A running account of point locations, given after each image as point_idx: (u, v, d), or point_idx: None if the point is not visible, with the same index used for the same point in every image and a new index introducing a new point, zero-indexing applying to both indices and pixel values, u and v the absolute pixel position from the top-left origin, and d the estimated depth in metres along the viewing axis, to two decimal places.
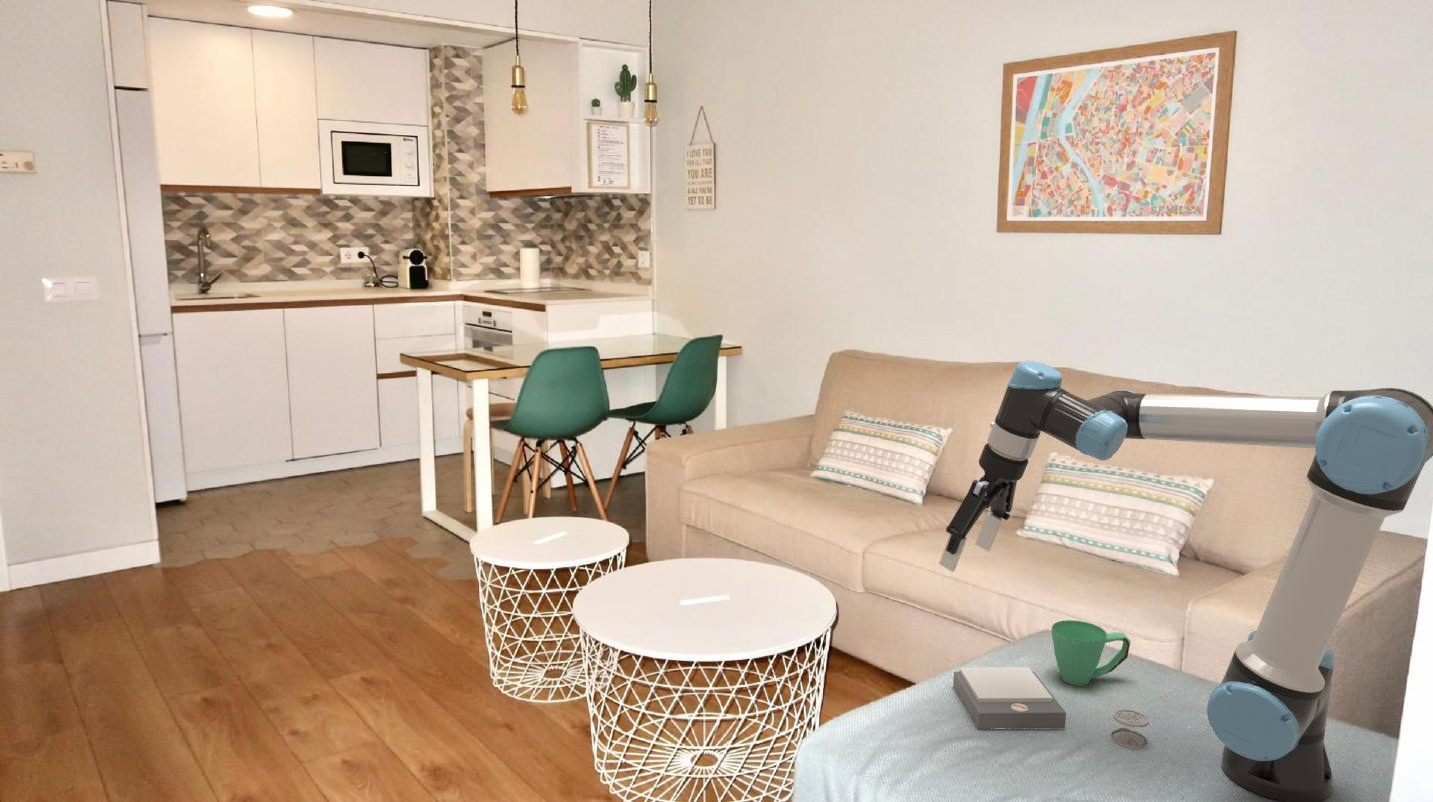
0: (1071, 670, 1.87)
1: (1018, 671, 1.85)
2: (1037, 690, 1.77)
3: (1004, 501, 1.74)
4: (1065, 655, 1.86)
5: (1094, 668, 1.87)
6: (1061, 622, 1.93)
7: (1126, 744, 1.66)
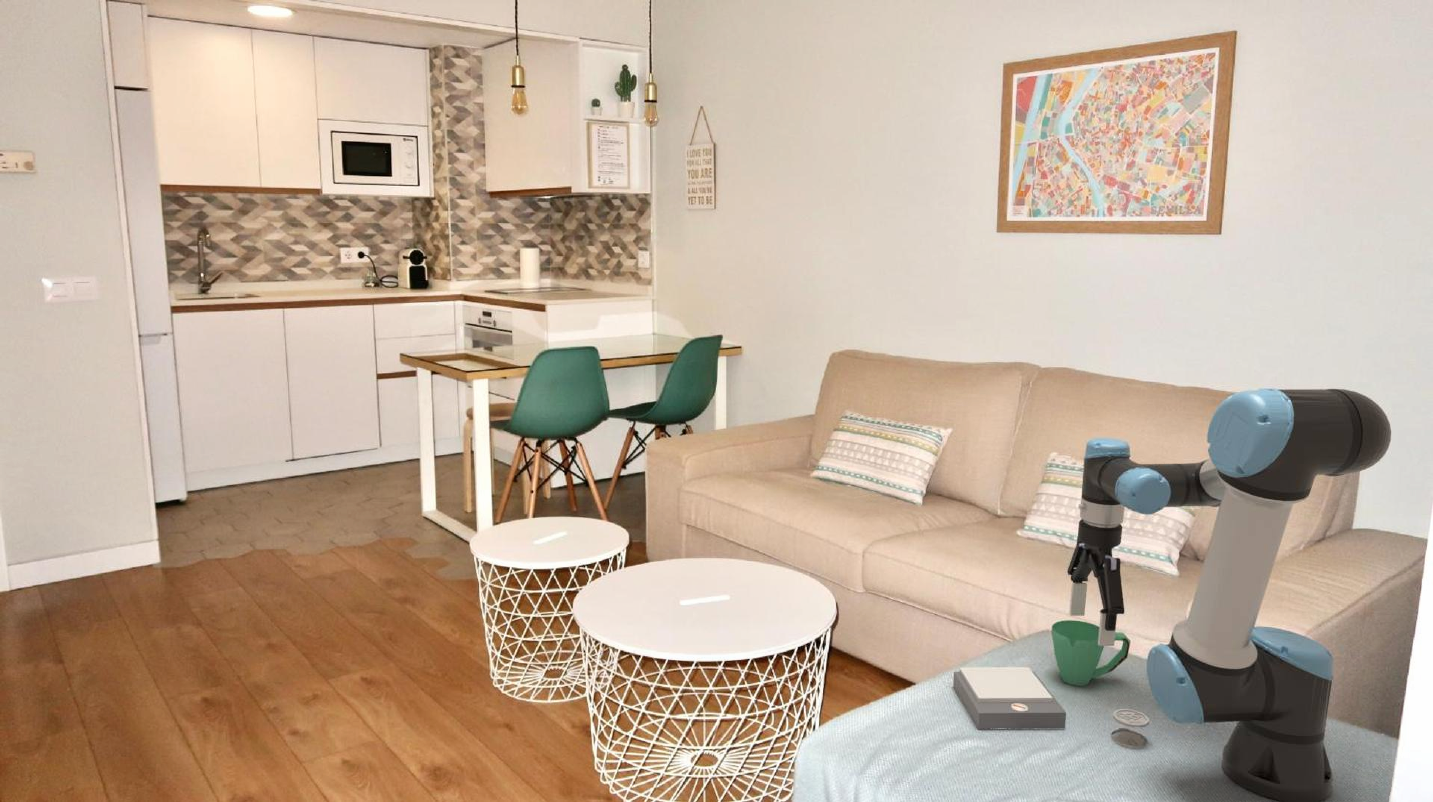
0: (1071, 670, 1.87)
1: (1018, 671, 1.85)
2: (1037, 690, 1.77)
3: None
4: (1065, 655, 1.86)
5: (1094, 668, 1.87)
6: (1061, 622, 1.93)
7: (1126, 744, 1.66)
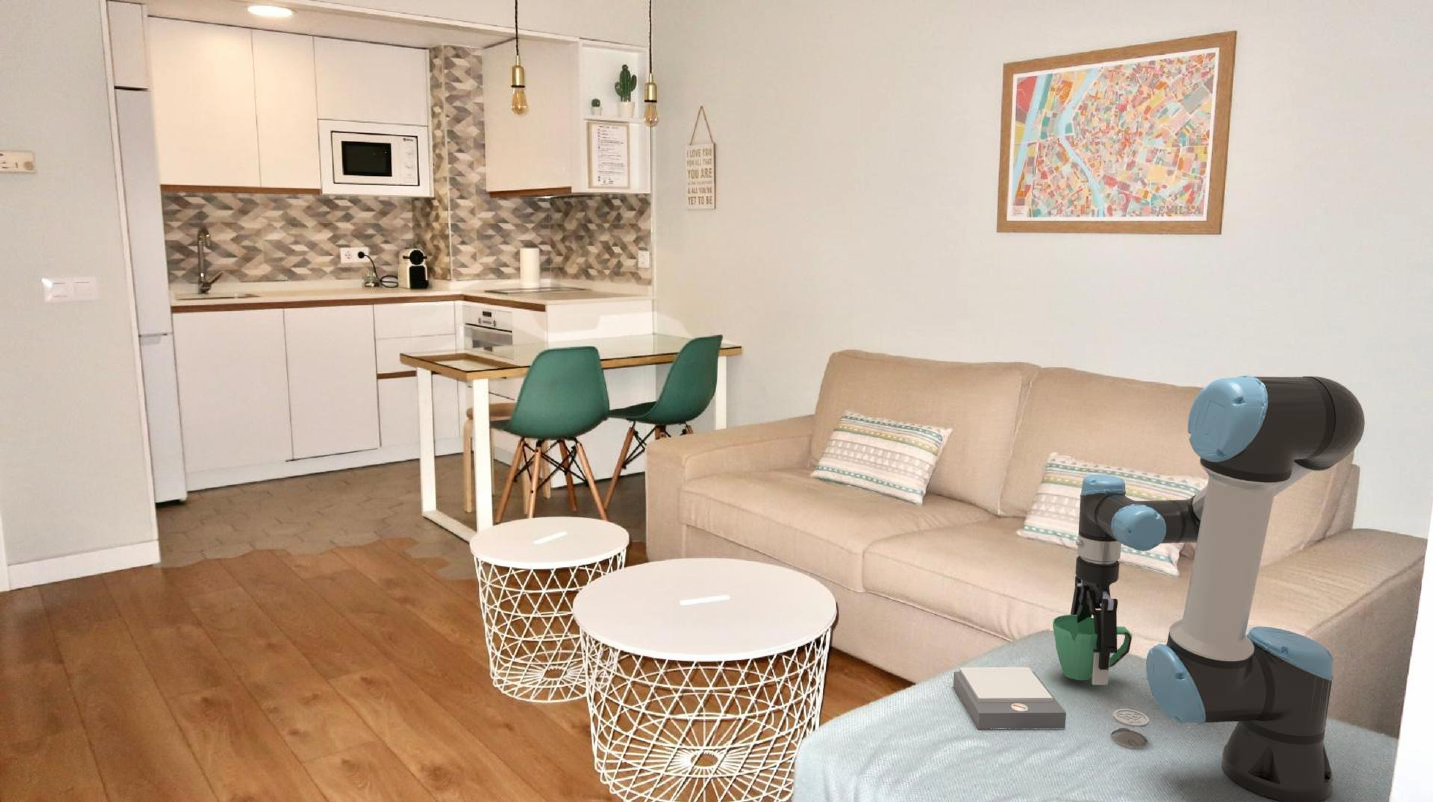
0: (1073, 664, 1.86)
1: (1018, 671, 1.85)
2: (1037, 690, 1.77)
3: None
4: (1067, 649, 1.86)
5: None
6: (1062, 617, 1.92)
7: (1126, 744, 1.66)
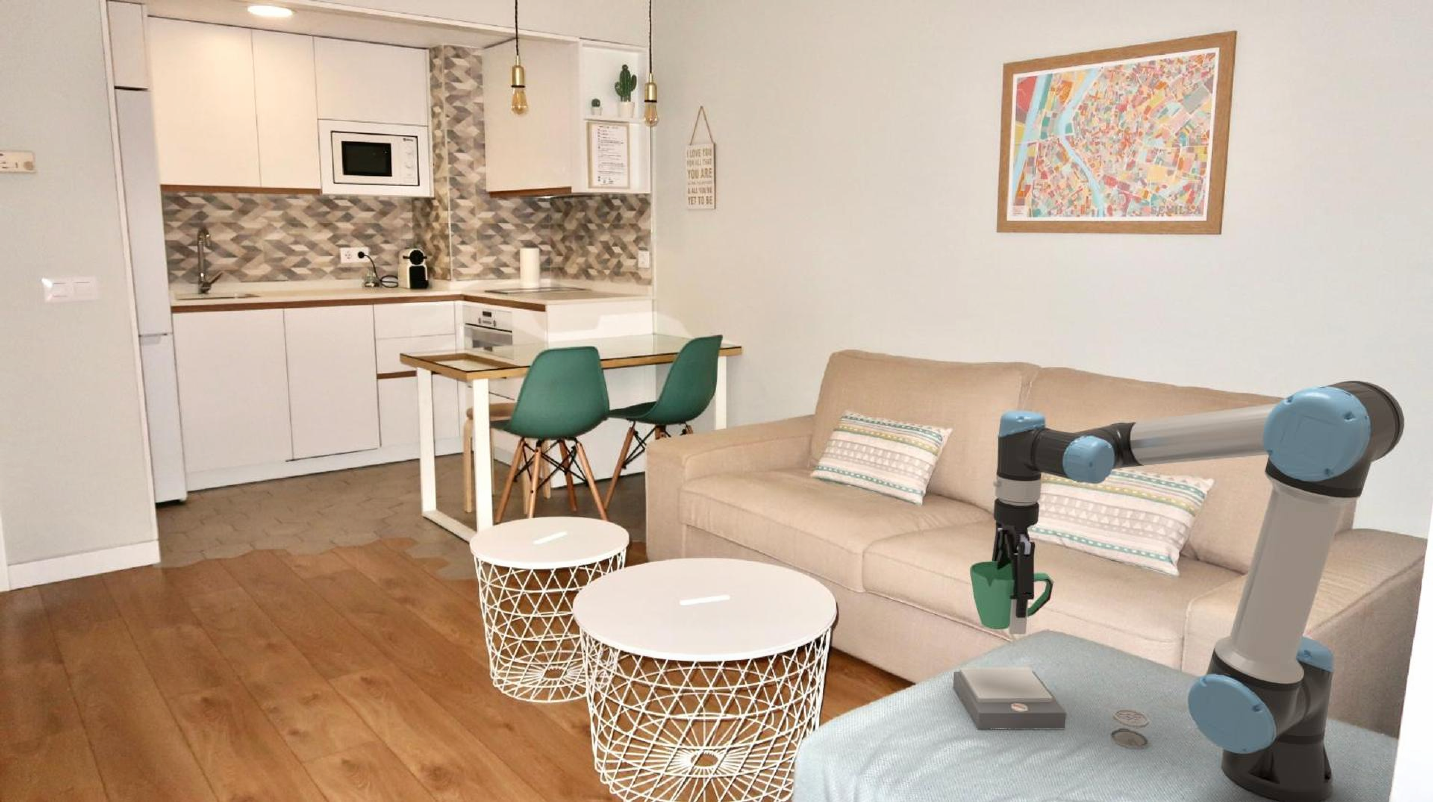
0: (989, 612, 1.75)
1: (1018, 671, 1.85)
2: (1037, 690, 1.77)
3: None
4: (983, 596, 1.74)
5: None
6: (981, 563, 1.81)
7: (1126, 744, 1.66)
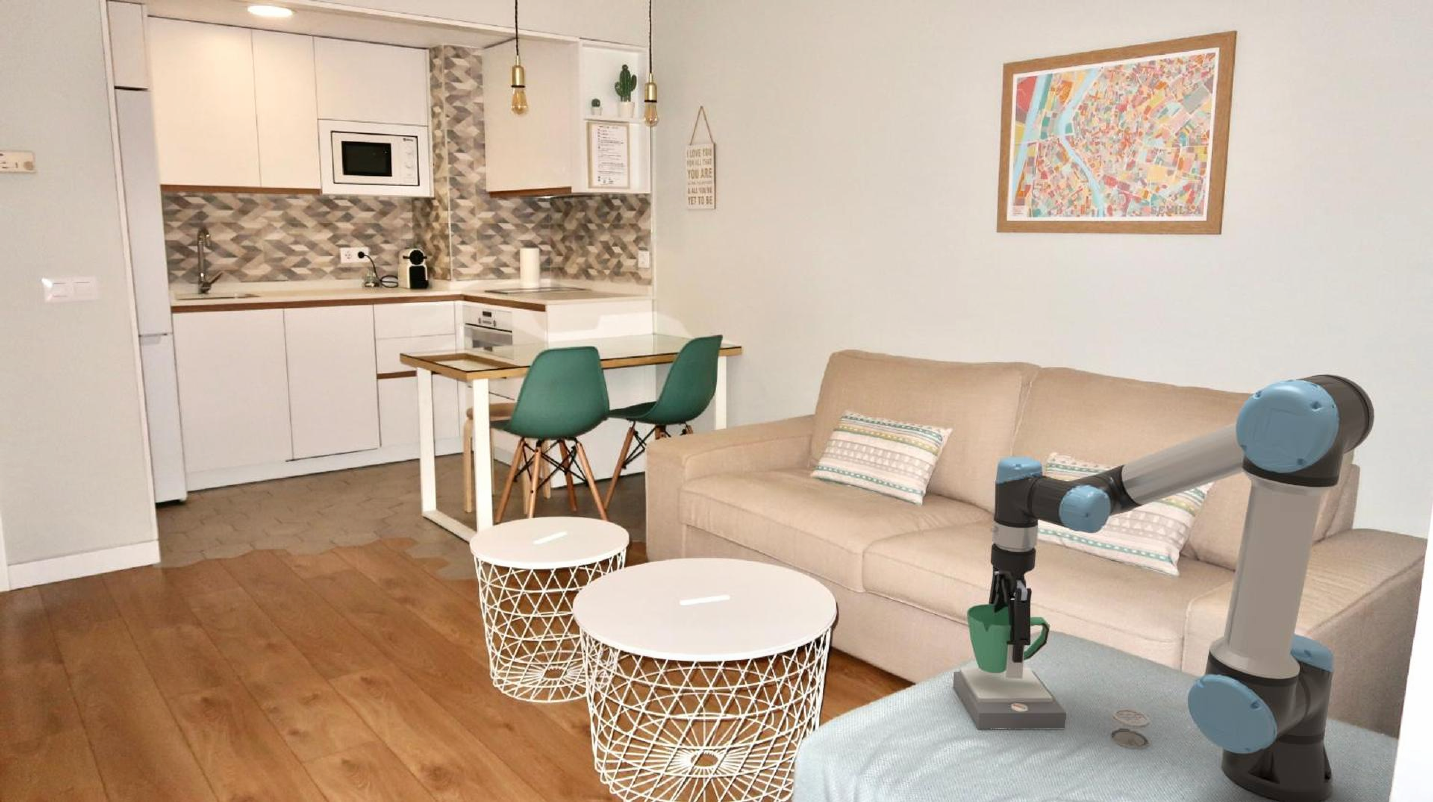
0: (986, 657, 1.76)
1: None
2: (1037, 690, 1.77)
3: None
4: (980, 641, 1.76)
5: None
6: (978, 606, 1.82)
7: (1126, 744, 1.66)
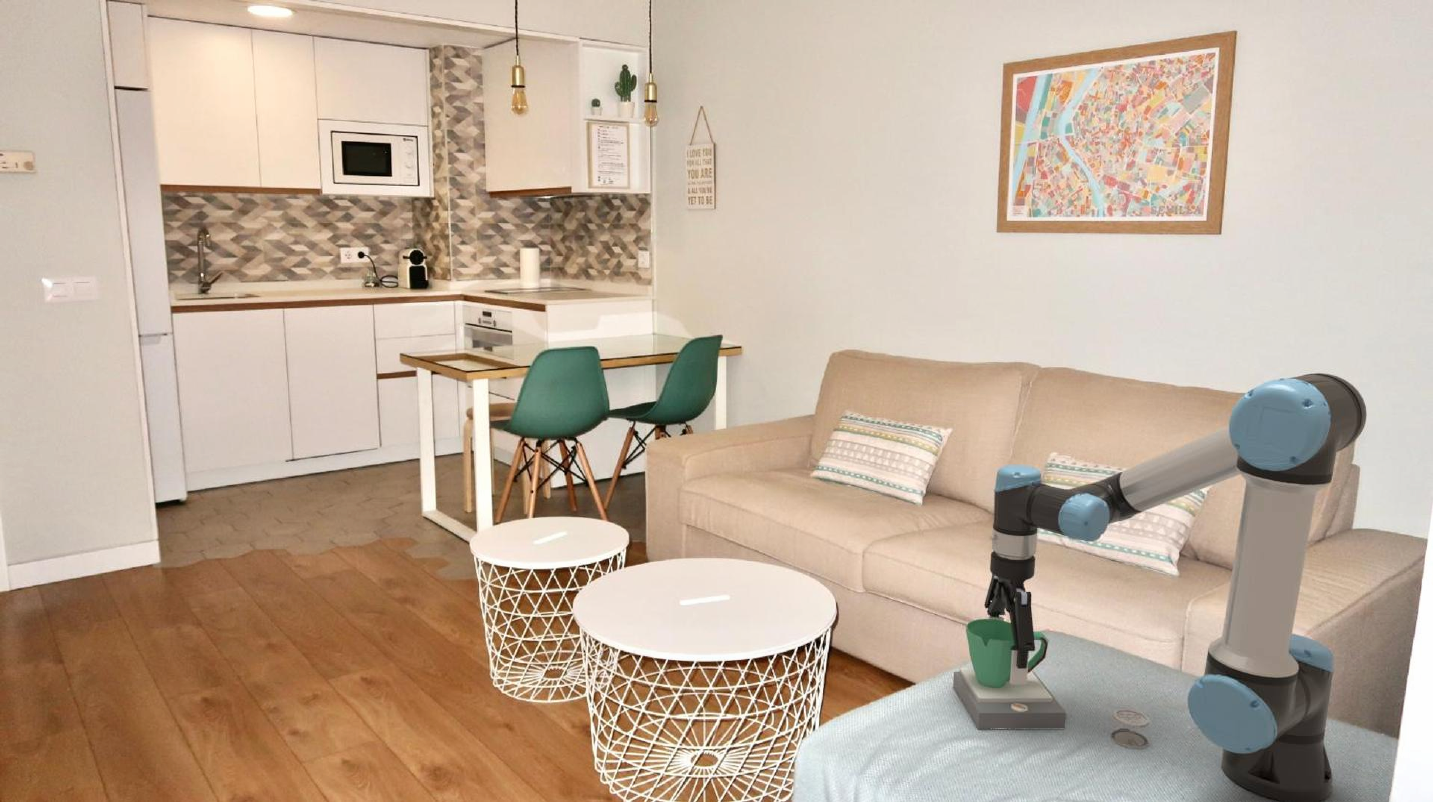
0: (985, 671, 1.77)
1: None
2: (1037, 690, 1.77)
3: None
4: (979, 655, 1.77)
5: (1010, 669, 1.77)
6: (977, 621, 1.83)
7: (1126, 744, 1.66)
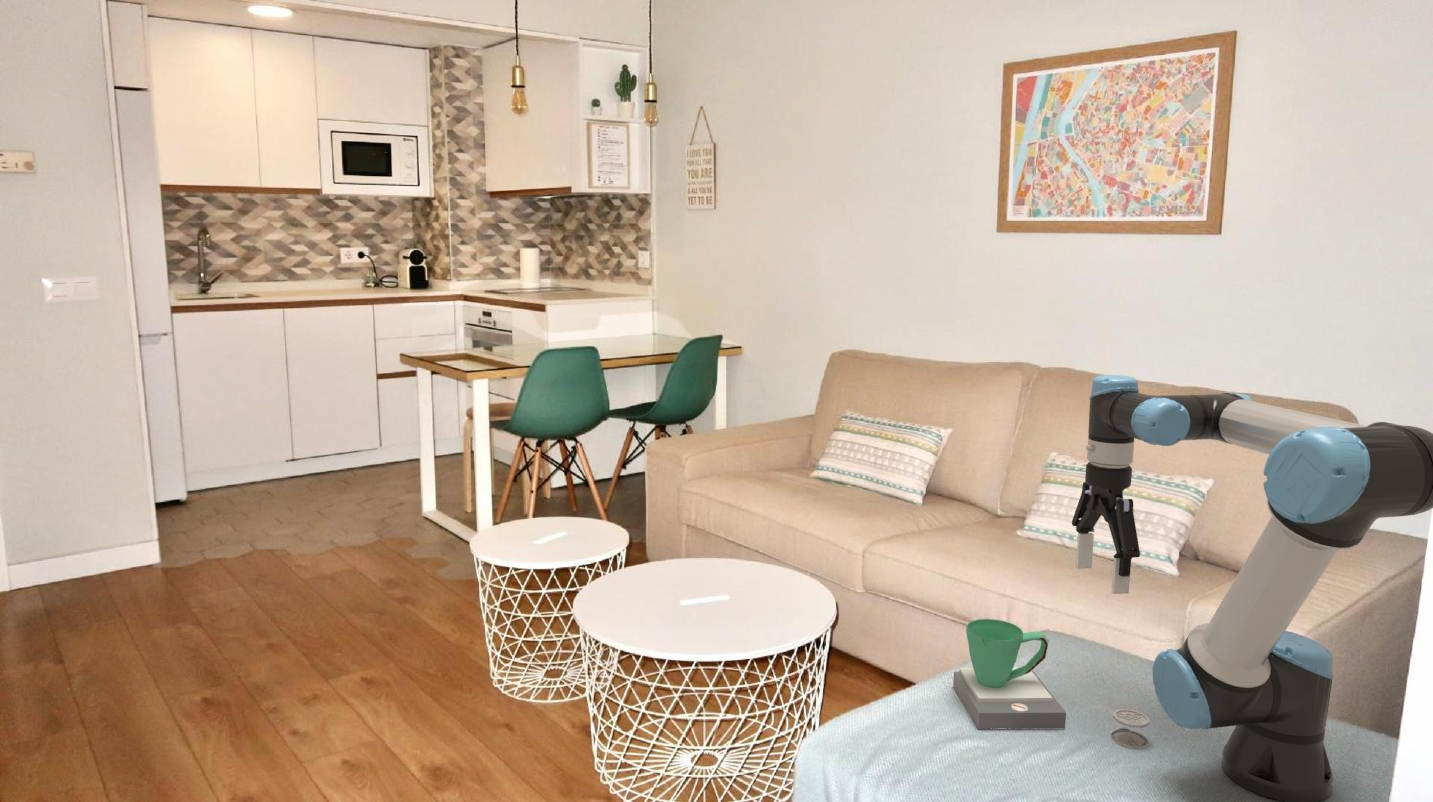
0: (985, 671, 1.77)
1: None
2: (1037, 690, 1.77)
3: None
4: (979, 656, 1.77)
5: (1010, 669, 1.77)
6: (977, 621, 1.83)
7: (1126, 744, 1.66)
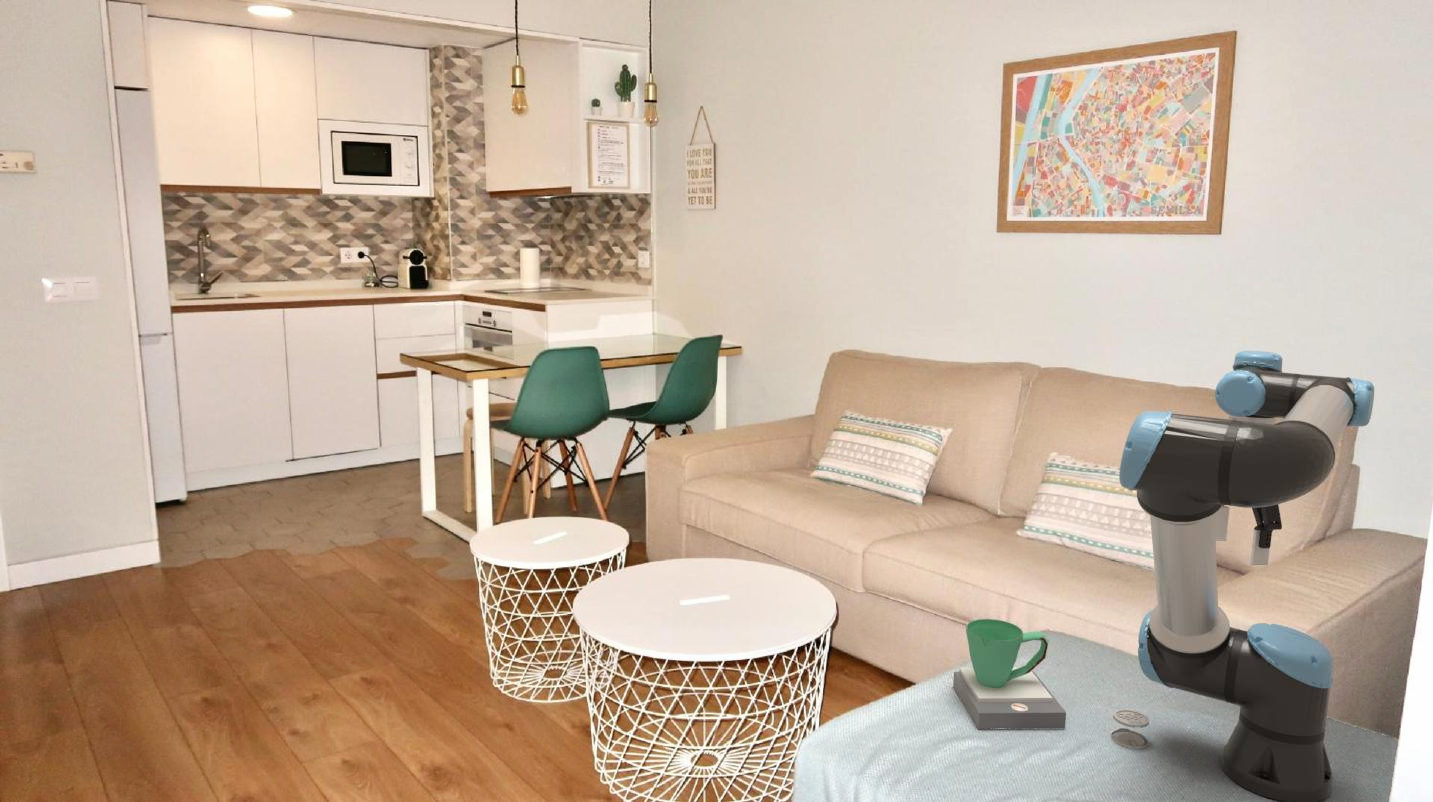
0: (985, 671, 1.77)
1: None
2: (1037, 690, 1.77)
3: None
4: (979, 656, 1.77)
5: (1010, 669, 1.77)
6: (977, 621, 1.83)
7: (1126, 744, 1.66)
